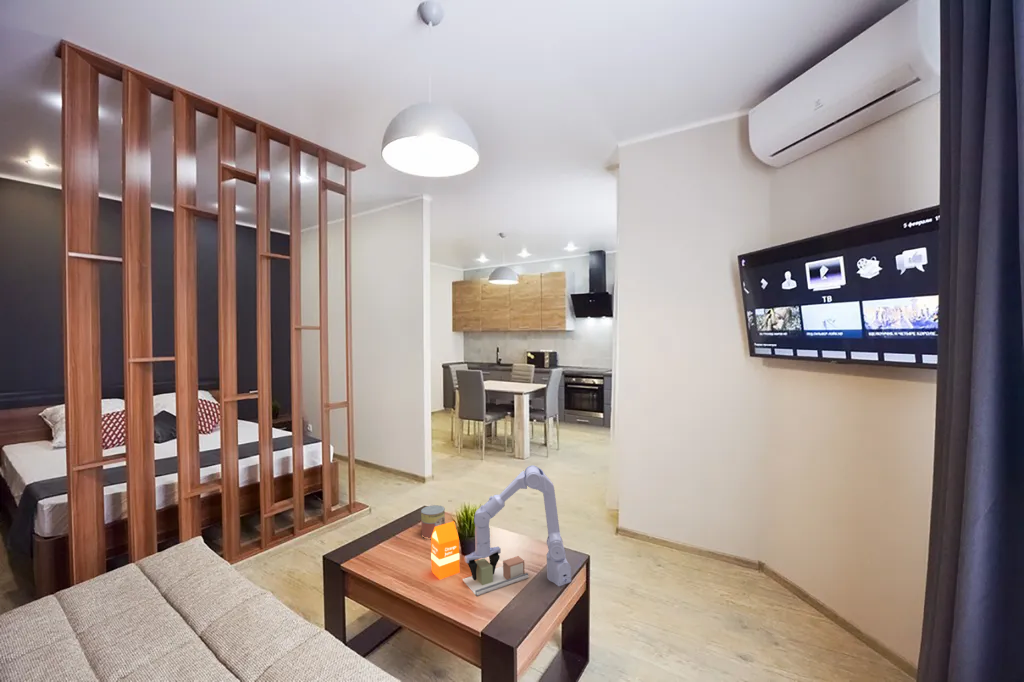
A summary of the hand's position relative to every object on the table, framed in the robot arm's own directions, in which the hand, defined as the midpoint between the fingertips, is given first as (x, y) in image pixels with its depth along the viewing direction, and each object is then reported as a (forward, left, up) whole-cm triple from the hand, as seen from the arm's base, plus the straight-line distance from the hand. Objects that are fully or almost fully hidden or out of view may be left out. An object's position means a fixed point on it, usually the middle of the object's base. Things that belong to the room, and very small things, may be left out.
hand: (483, 576), depth 164 cm
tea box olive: (0, 0, -1) cm, 1 cm away
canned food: (+50, +2, -2) cm, 50 cm away
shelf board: (-2, -4, -2) cm, 5 cm away
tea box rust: (-5, -11, -1) cm, 12 cm away
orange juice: (+13, +10, -2) cm, 17 cm away
